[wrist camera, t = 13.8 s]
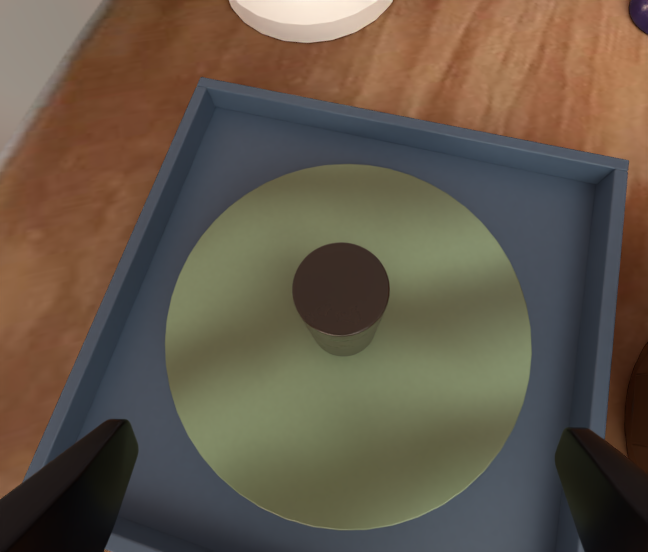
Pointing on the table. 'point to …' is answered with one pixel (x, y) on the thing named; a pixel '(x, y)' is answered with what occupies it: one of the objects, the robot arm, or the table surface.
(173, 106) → the table surface
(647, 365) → the basket
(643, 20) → the toy lamp
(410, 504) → the basket lid
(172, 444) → the tray
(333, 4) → the decorative container
